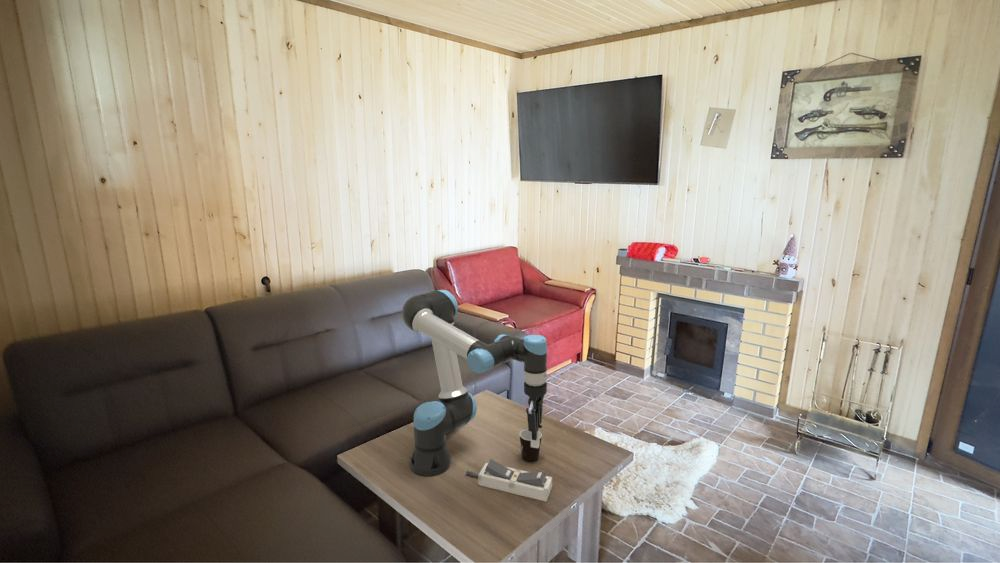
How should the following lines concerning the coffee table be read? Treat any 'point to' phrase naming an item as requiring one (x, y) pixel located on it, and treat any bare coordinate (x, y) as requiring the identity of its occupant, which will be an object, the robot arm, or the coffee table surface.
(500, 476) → the rocker
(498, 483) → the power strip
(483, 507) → the coffee table surface
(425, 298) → the robot arm
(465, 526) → the coffee table surface
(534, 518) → the coffee table surface
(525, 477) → the rocker
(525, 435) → the coffee mug
